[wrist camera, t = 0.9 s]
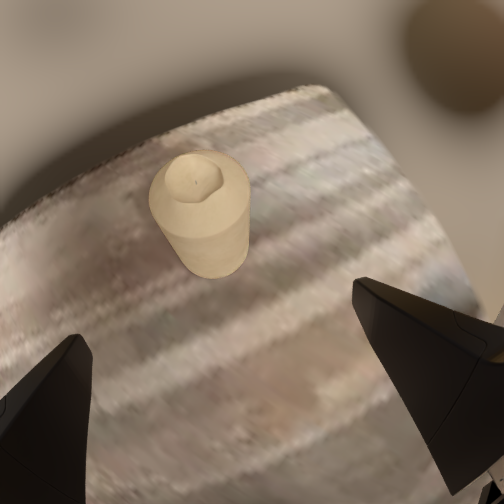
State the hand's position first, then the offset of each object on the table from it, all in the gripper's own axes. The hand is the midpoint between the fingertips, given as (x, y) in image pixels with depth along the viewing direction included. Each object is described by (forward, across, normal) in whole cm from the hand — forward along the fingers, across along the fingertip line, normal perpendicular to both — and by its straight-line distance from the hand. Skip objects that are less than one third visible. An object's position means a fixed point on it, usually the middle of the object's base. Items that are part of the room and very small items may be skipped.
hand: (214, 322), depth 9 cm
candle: (+15, 0, +4) cm, 15 cm away
